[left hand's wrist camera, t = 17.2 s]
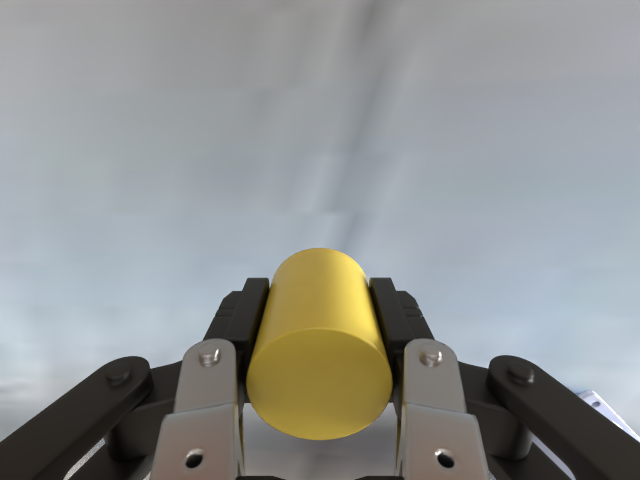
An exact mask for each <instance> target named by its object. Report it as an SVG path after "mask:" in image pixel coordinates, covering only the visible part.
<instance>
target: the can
mask: <svg viewBox="0 0 640 480" xmlns="http://www.w3.org/2000/svg"><path fill="white" fill-rule="evenodd" d="M392 386H393V380H392V373H391V369H390V365H389V362H388V358H387V354H386V350H385V347H384V343H383V339H382V335H381V332H380V328H379V324H378V320H377V317H376V313H375V309H374V305H373V302H372V298H371V294H370V290H369V287H368V283H367V279H366V276H365V274H364V272H363V271H362V269H361V267H360V266H359V265H358V264H357V263H356V262H355V261H354V260H353V259H352V258H350V257H349V256H347V255H345V254H343V253H341V252H339V251H336V250H332V249H327V248H313V249H307V250H303V251H300V252H298V253H296V254H294V255H292V256H290V257H289V258H288V259H286V260H285V261H284V262H283V263H282V264H281V265H280V266H279V268H278V269H277V271H276V273H275V274H274V277H273V280H272V283H271V287H270V291H269V294H268V298H267V302H266V305H265V309H264V313H263V316H262V320H261V324H260V327H259V331H258V335H257V338H256V342H255V346H254V349H253V353H252V357H251V360H250V364H249V368H248V372H247V377H246V388H247V394H248V397H249V400H250V402H251V404H252V406H253V408H254V410H255V411H256V412H257V414H258V415H259V416H260V417H261V418H262V419H263V420H264V421H265V422H266V423H268V424H269V425H270V426H272V427H273V428H275V429H277V430H279V431H281V432H283V433H285V434H288V435H291V436H294V437H298V438H303V439H309V440H329V439H336V438H341V437H345V436H348V435H351V434H354V433H356V432H358V431H360V430H362V429H364V428H365V427H367V426H368V425H370V424H371V423H373V422H374V421H375V420H376V419H377V418H378V417H379V416H380V415H381V413H382V412H383V411H384V409H385V408H386V406H387V404H388V402H389V399H390V397H391V393H392Z"/></svg>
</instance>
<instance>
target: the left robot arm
mask: <svg viewBox="0 0 640 480" xmlns="http://www.w3.org/2000/svg"><path fill="white" fill-rule="evenodd" d="M369 290H370V294H371V298H372V302H373V305H374V309H375V313H376V317H377V320H378V324H379V328H380V332H381V335H382V339H383V343H384V347H385V350H386V354H387V358H388V362H389V365H390V369H391V373H392V380H393V386H392V393H391V397H390V399H389V402H388V403H394V407H395V411H396V415H397V420H396V440H395V466H394V476H366V477H362V478H359V479H355V480H491V479H490V474H489V471H490V472H491V473H492V474H493V476H494V477H495V478H496V479H497V480H572V479H571V478H570V477H569V476H568V475H567V474H566V473H565V472H564V471H563V470H561V469H560V468H559V467H558V466H557V465H556V464H555V463H554V462H553V461H552V460H551V459H550V458H549V457H548V456H547V455H546V454H545V453H544V452H543V451H542V450H541V449H540V448H539V447H538V446H537V445H536V444H535V443H534V442H533V441H532V440H533V437H534V435H535V436H536V437H537V438H538V439H539V440H540V441H541V442H542V443H543V444H544V445H545V446H546V447H547V448H549V449H550V450H551V451H552V452H553V453H554V454H555V455H556V456H557V457H558V458H559V459H560V460H561V461H562V462H563V463H564V464H565V465H566V466H567V467H568V468H569V469H570V471H571V472H572V474H573V475H574V477H575V479H576V480H640V442H639V441H637V440H636V439H635V438H633V437H632V436H631V435H629V434H628V433H627V432H625V431H624V430H623V429H621V428H620V427H619V426H617V425H616V424H615V423H613V422H612V421H610V420H609V419H608V418H606V417H605V416H604V415H602V414H601V413H600V412H598V411H597V410H596V409H594V408H593V407H592V406H590V405H589V404H588V403H586V402H585V401H584V400H582V399H581V398H580V397H578V396H577V395H576V394H574V393H573V392H572V391H570V390H569V389H568V388H566V387H565V386H564V385H562V384H561V383H560V382H558V381H557V380H556V379H554V378H553V377H552V376H550V375H549V374H548V373H546V372H545V371H543V370H542V369H541V368H539V367H538V366H537V365H535V364H533V363H531V362H530V361H527V360H525V359H522V358H519V357H515V356H509V355H502V356H497V357H495V358H493V359H492V360H491V361H490V364H489V368H488V369H487V368H483V367H478V366H474V365H469V364H466V363H462V362H459V361H457V357H456V355H455V353H454V352H453V350H452V349H450V348H449V347H448V346H447V345H445V344H443V343H441V342H439V341H436V340H435V339H434V337H433V335H432V333H431V331H430V329H429V327H428V325H427V323H426V321H425V318H424V317H423V314H422V312H421V310H420V309H419V306H418V304H417V302H416V300H415V298H413V297H412V296H411V295H410V294H409V293H407V292H406V291H396V290H395V287H394V285H393V282H392V280H391V278H370V280H369ZM269 291H270V287H269V279H268V278H247V281H246V283H245V285H244V288H243V290H242V291H232V292H231V293H230V294H229V295H227V296H226V297H225V298H224V299H223V300H222V303H221V305H220V307H219V309H218V311H217V313H216V315H215V317H214V319H213V321H212V323H211V325H210V327H209V329H208V331H207V333H206V335H205V337H204V339H203V341H201V342H199V343H197V344H195V345H193V346H192V347H191V348H190V349H188V350H187V352H186V353H185V355H184V357H183V360H181V361H179V362H176V363H173V364H170V365H165V366H161V367H157V368H152V369H150V366H149V363H148V361H147V360H146V359H144V358H142V357H138V356H129V357H123V358H119V359H116V360H113V361H111V362H109V363H107V364H105V365H104V366H102V367H101V368H99V369H98V370H97V371H95V372H94V373H92V374H91V375H90V376H88V377H87V378H86V379H84V380H83V381H82V382H80V383H79V384H78V385H76V386H75V387H74V388H72V389H71V390H70V391H68V392H67V393H66V394H64V395H63V396H62V397H60V398H59V399H58V400H56V401H55V402H54V403H52V404H51V405H50V406H48V407H47V408H46V409H44V410H43V411H42V412H40V413H39V414H38V415H36V416H35V417H34V418H32V419H31V420H29V421H28V422H27V423H25V424H24V425H23V426H21V427H20V428H19V429H17V430H16V431H15V432H13V433H12V434H11V435H9V436H8V437H7V438H5V439H4V440H3V441H1V442H0V480H63V479H64V477H65V476H66V474H67V473H68V471H69V470H70V469H71V468H72V467H73V466H74V465H75V464H76V463H77V462H78V461H79V460H80V459H81V458H82V457H83V456H84V455H85V454H86V453H87V452H88V451H89V450H90V449H91V448H92V447H94V446H95V445H96V444H97V443H98V442H99V441H100V440H101V439H102V438H104V441H105V444H104V445H103V446H102V447H101V448H100V449H99V450H98V451H97V452H96V453H95V454H94V455H93V456H92V457H91V458H90V459H89V460H88V461H87V462H86V463H85V464H84V465H83V466H82V467H81V468H80V469H78V470H77V471H76V472H75V473H74V474H73V475H72V476H71V477H70V478H69V479H68V480H143V479H144V478H145V477H146V476H147V474H148V473H149V472H150V471H151V474H150V479H149V480H285V479H281V478H278V477H274V476H246V466H245V440H244V420H243V412H242V410H243V406H244V403H251V402H250V400H249V397H248V394H247V388H246V377H247V372H248V368H249V364H250V360H251V357H252V353H253V349H254V346H255V342H256V338H257V335H258V331H259V327H260V324H261V320H262V316H263V313H264V309H265V305H266V302H267V298H268V294H269Z"/></svg>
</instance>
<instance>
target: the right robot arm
mask: <svg viewBox="0 0 640 480" xmlns="http://www.w3.org/2000/svg"><path fill="white" fill-rule="evenodd" d="M577 396H578V397H580V398H581V399H582V400H584V401H585V402H586V403H588V404H589V405H590V406H592V407H593V408H594V409H596V410H597V411H598V412H600V413H601V414H602V415H604V416H605V417H606V418H608V419H609V420H610V421H612V422H613V423H615V424H616V425H617V426H619V427H620V428H621V429H623V430H624V431H625V432H627V433H628V434H629V435H631V436H632V437H633V438H635V439H636V440H637V441H639V442H640V438H639V437H638V436H637V435H636V434H635V432H634V431H633V430H632V429H631V428H630V427H629V426H628V425H627V424H626V423H625V422H624V421H623V420H622V419H621V418H620V417H619V416H618V415H617V414H616V413H615V412H614V411H613V410H612V409H611V408H610V407H609V406H608V405H607V404H606V403H605V402H604V401H603V400H602V399H601V398H600V397H599V396H598V395H597V394H596V393H595V392H594V391H592V390H587V391H584V392H582V393H581V394H579V395H577ZM532 441H533V442H534V443H535V444H536V445H537V446H538V447H539V448H540V449H541V450H542V451H543V452H544V453H545V454H546V455H547V456H548V457H549V458H550V459H551V460H552V461H553V462H554V463H555V464H556V465H557V466H558V467H559V468H560V469H561V470H563V471H564V472H565V473H566V474H567V475H568V476H569V477H570V478H571V479H572V480H576V479H575V477H574V475H573V474H572V472H571V471H570V469H569V468H568V467H567V466H566V465H565V464H564V463H563V462H562V461H561V460H560V459H559V458H558V457H557V456H556V455H555V454H554V453H553V452H552V451H551V450H550V449H549V448H547V447H546V446H545V445H544V444H543V443H542V442H541V441H540V440H539V439H538V438H537V437H536V436H535V435H534V437H533V440H532Z"/></svg>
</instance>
